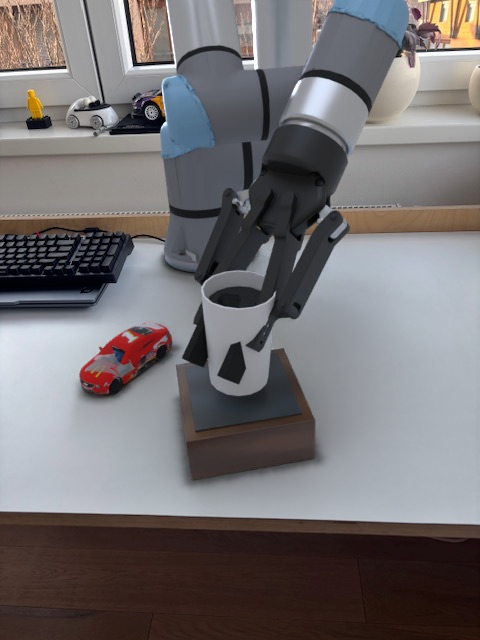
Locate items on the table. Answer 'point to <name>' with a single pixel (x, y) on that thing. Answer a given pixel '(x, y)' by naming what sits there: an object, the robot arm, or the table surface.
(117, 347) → the race car
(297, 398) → the stand
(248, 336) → the white coffee cup
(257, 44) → the robot arm
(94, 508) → the table surface
